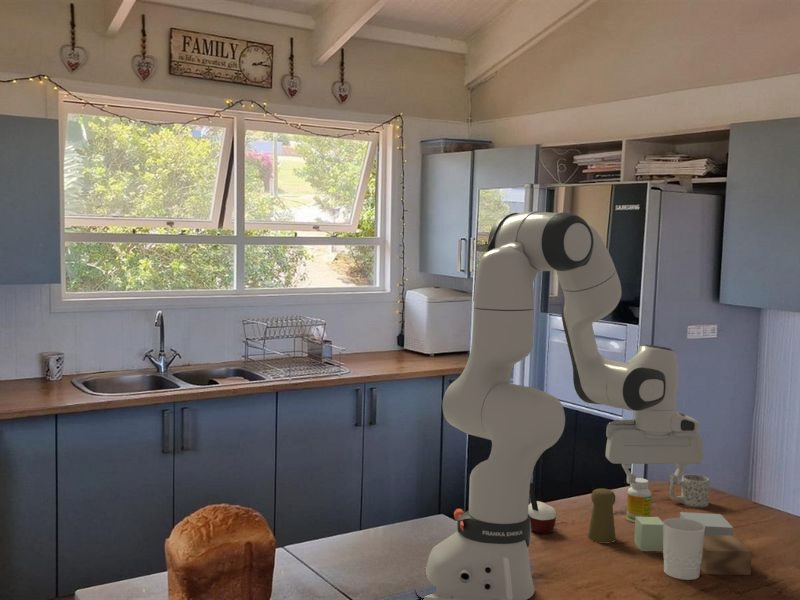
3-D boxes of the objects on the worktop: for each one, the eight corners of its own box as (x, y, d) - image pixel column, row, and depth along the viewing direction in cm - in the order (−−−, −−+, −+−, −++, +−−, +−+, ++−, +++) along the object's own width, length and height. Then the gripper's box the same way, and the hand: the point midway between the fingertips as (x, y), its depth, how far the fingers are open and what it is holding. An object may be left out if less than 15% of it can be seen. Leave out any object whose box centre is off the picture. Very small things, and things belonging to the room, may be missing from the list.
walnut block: (705, 575, 162) (706, 550, 162) (689, 558, 171) (690, 534, 171) (750, 575, 162) (751, 551, 162) (731, 558, 171) (732, 535, 171)
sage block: (641, 551, 173) (642, 524, 173) (634, 543, 178) (635, 516, 178) (664, 552, 173) (665, 524, 173) (656, 543, 178) (658, 517, 178)
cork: (616, 544, 177) (618, 494, 177) (588, 541, 179) (590, 492, 178) (614, 535, 183) (616, 487, 183) (587, 532, 184) (589, 484, 184)
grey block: (689, 547, 177) (690, 525, 177) (679, 533, 186) (680, 512, 186) (732, 550, 176) (733, 527, 176) (719, 535, 185) (720, 514, 185)
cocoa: (549, 526, 189) (552, 475, 189) (564, 534, 183) (567, 481, 183) (514, 529, 186) (516, 476, 186) (528, 537, 180) (531, 483, 180)
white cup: (662, 563, 167) (664, 515, 166) (703, 569, 164) (705, 521, 164) (659, 577, 160) (661, 527, 159) (702, 584, 157) (704, 533, 156)
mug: (701, 499, 212) (702, 474, 211) (713, 507, 205) (714, 481, 205) (664, 499, 211) (665, 474, 211) (674, 507, 204) (675, 481, 204)
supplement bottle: (646, 525, 190) (648, 484, 190) (623, 520, 193) (625, 480, 192) (652, 519, 195) (654, 479, 194) (630, 514, 198) (631, 475, 197)
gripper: (610, 422, 171) (608, 487, 172) (707, 423, 171) (705, 488, 172) (602, 416, 177) (601, 478, 178) (696, 417, 177) (694, 479, 178)
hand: (652, 483), depth 175 cm, fingers open, 8 cm apart
